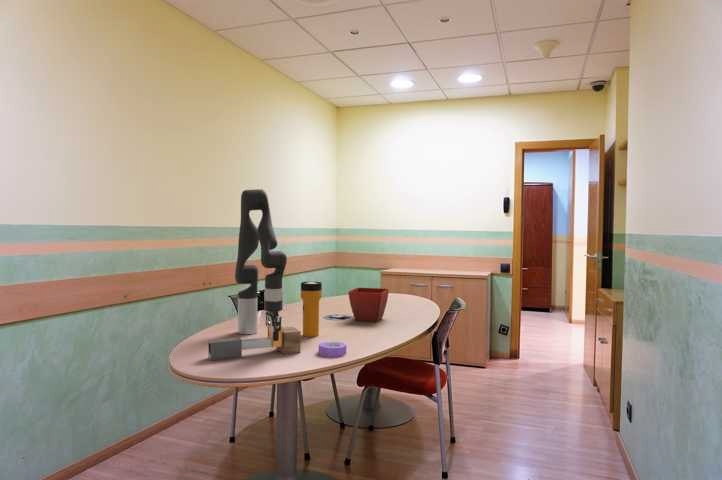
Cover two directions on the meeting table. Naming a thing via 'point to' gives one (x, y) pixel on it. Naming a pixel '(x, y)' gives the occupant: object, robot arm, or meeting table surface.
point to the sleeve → (224, 349)
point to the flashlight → (311, 307)
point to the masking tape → (332, 349)
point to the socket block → (290, 340)
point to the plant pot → (368, 303)
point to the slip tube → (263, 341)
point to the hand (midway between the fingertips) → (273, 338)
